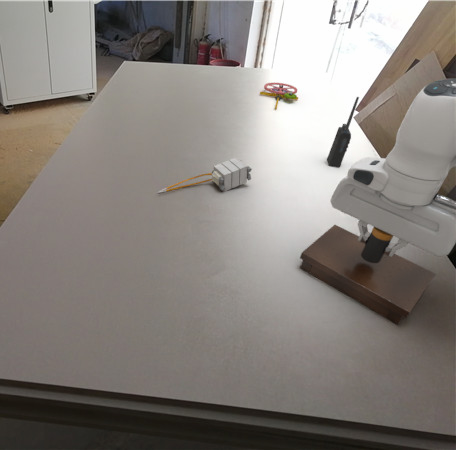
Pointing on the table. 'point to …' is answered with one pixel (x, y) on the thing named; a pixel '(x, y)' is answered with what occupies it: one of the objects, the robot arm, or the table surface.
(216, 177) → the electrical component
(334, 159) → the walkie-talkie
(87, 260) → the table surface
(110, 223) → the table surface
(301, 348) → the table surface
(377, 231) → the battery
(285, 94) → the mechanical gear assembly
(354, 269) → the block
